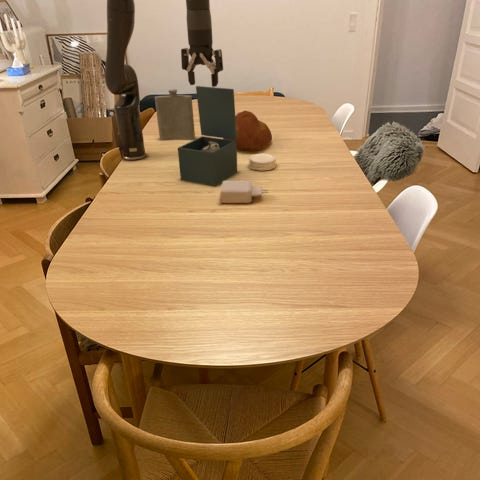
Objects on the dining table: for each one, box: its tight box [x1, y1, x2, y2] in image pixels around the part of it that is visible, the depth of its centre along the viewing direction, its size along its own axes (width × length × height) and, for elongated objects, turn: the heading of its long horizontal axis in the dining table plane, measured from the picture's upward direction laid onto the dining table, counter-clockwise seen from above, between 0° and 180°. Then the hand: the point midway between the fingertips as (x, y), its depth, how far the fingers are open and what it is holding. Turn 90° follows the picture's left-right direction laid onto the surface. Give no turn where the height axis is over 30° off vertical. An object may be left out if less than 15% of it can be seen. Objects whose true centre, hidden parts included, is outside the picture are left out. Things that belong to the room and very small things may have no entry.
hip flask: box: [154, 88, 196, 141], centre depth 205 cm, size 16×4×20 cm, turn 88°
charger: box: [220, 180, 269, 204], centre depth 152 cm, size 5×9×15 cm
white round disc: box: [248, 153, 277, 172], centre depth 176 cm, size 10×10×4 cm
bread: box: [222, 110, 273, 152], centre depth 199 cm, size 21×33×12 cm, turn 4°
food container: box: [200, 141, 220, 153], centre depth 167 cm, size 12×6×10 cm, turn 159°
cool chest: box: [177, 135, 238, 187], centre depth 168 cm, size 16×15×11 cm
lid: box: [195, 85, 237, 140], centre depth 166 cm, size 16×15×6 cm
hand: (203, 85), depth 153 cm, fingers open, 8 cm apart
